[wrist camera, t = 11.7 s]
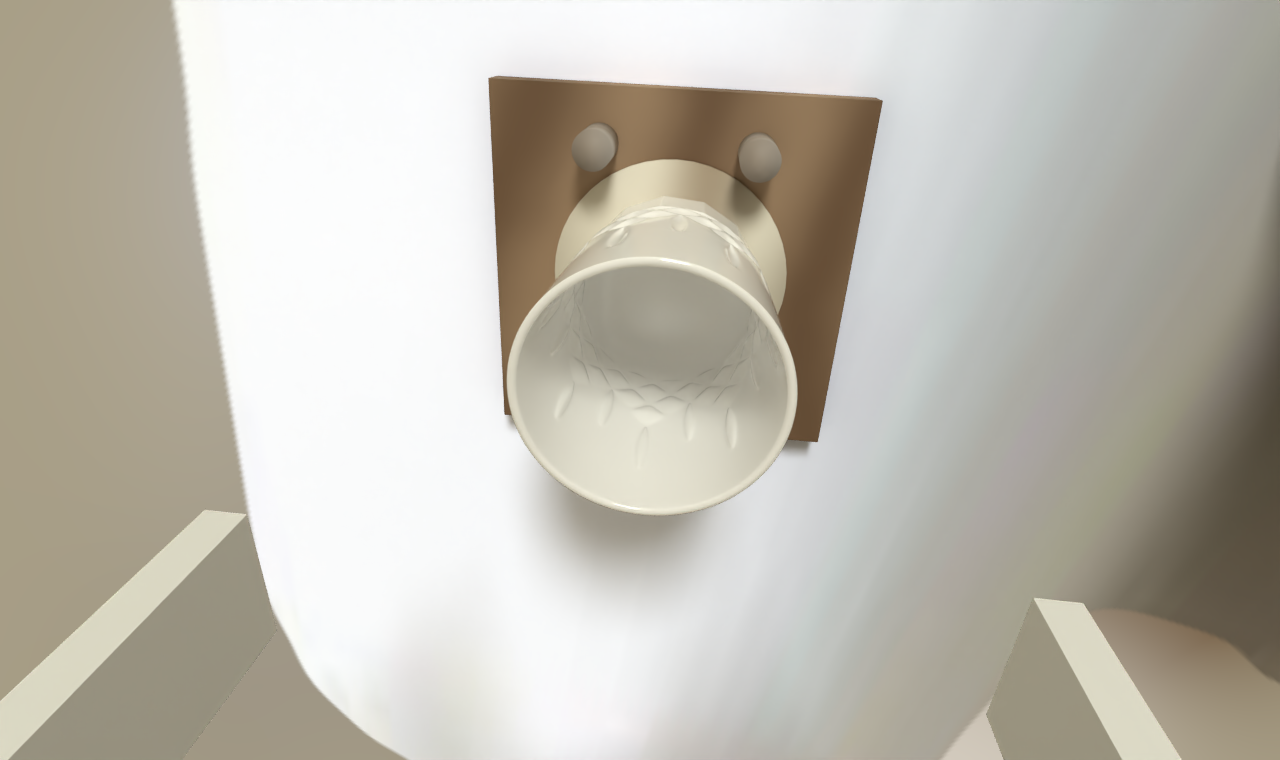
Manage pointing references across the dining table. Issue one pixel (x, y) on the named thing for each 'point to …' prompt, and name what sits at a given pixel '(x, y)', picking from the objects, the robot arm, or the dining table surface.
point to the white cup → (655, 365)
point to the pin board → (686, 192)
